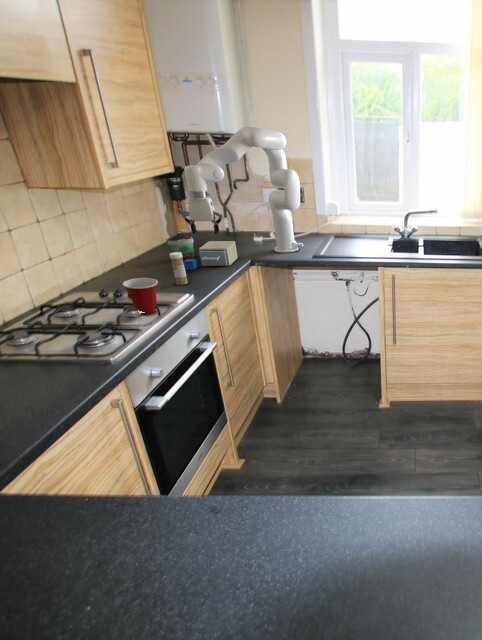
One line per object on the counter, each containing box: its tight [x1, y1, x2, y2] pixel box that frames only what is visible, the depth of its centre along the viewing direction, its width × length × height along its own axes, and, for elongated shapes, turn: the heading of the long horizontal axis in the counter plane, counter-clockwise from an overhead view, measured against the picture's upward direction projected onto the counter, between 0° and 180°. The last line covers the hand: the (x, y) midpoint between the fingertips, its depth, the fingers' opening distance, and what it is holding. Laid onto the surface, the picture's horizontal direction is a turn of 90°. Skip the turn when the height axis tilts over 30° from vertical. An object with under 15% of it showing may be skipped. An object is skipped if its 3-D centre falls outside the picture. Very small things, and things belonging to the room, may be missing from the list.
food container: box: [167, 236, 195, 261], centre depth 236 cm, size 12×6×10 cm, turn 143°
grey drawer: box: [198, 250, 227, 267], centre depth 229 cm, size 18×11×7 cm, turn 8°
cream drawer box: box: [198, 240, 239, 267], centre depth 233 cm, size 15×13×9 cm
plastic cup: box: [121, 277, 159, 316], centre depth 171 cm, size 11×11×12 cm
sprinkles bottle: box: [169, 252, 189, 286], centre depth 201 cm, size 5×5×13 cm
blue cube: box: [183, 258, 198, 271], centre depth 223 cm, size 4×4×4 cm
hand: (205, 233), depth 218 cm, fingers open, 9 cm apart
